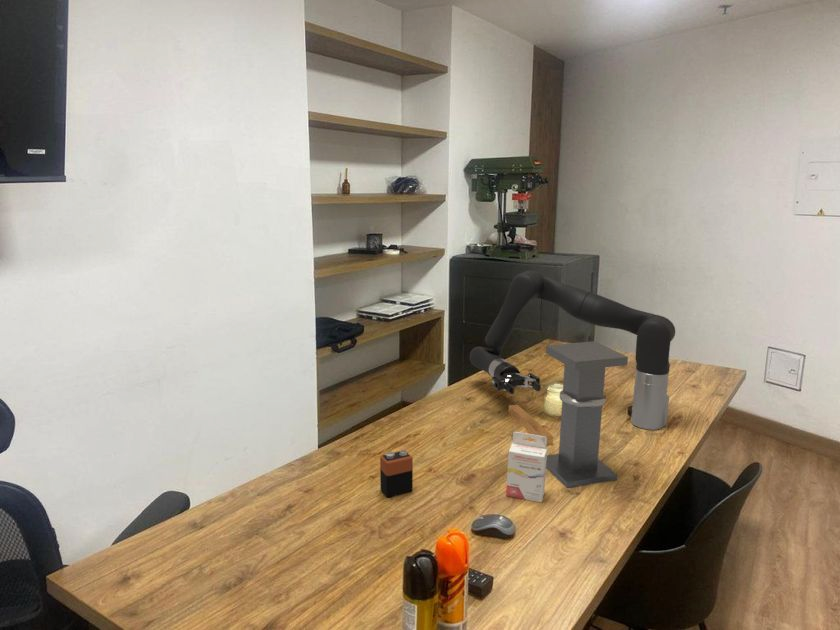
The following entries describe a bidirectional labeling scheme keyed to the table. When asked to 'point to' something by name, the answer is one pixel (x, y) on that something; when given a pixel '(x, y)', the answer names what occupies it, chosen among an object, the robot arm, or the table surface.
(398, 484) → the battery
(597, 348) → the stand
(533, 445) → the ink cartridge box
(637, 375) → the robot arm
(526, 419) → the bar
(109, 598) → the table surface
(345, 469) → the table surface
